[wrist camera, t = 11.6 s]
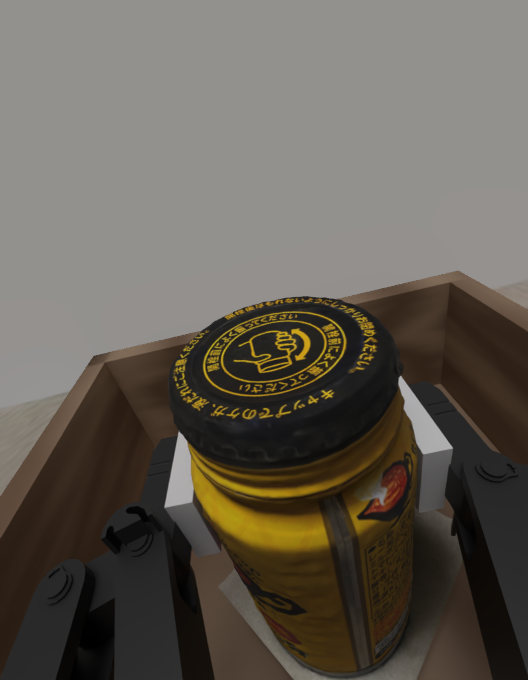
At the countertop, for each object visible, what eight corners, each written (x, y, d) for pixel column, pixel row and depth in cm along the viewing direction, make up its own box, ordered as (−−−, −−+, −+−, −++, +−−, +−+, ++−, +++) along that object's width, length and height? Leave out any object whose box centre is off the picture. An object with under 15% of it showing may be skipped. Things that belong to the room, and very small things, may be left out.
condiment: (219, 589, 14) (77, 378, 8) (329, 453, 19) (296, 250, 12) (376, 782, 9) (340, 638, 3) (474, 534, 14) (542, 268, 7)
